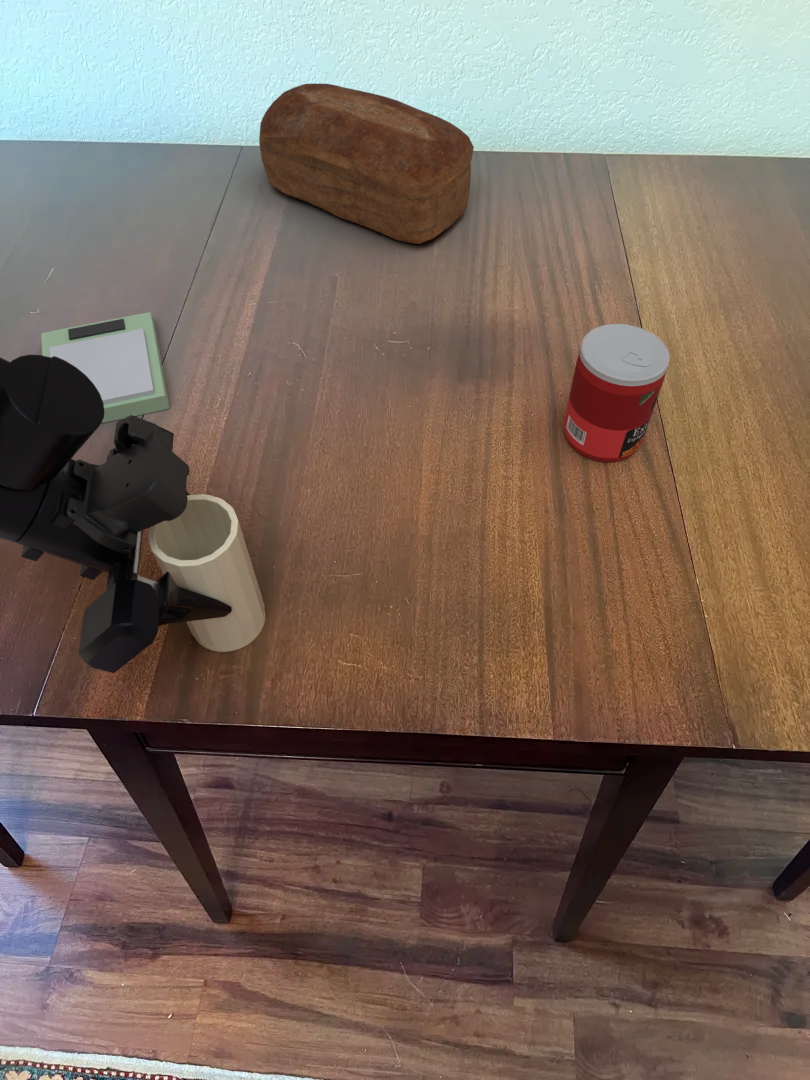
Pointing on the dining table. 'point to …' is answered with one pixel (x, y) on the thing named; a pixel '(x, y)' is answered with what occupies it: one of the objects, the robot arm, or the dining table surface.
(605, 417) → the canned food
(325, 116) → the bread
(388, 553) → the dining table surface
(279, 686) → the dining table surface
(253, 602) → the cup
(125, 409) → the scale
